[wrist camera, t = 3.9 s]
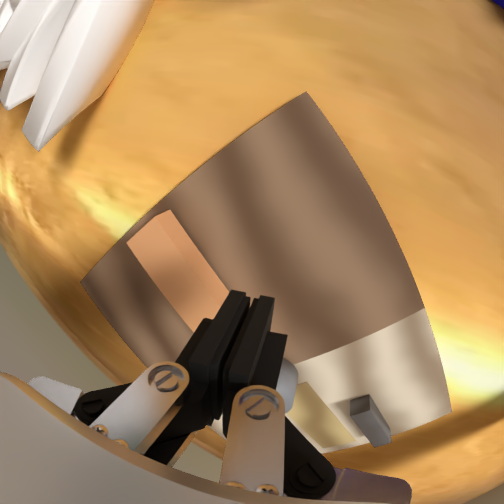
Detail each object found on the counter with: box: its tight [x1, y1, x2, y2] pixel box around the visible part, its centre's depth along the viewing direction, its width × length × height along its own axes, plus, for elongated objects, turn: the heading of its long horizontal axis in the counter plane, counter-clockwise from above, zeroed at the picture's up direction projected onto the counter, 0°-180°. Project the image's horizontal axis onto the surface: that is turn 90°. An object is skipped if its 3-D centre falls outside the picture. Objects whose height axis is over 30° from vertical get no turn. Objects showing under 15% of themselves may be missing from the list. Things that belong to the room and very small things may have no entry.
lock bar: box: [127, 210, 298, 414], centre depth 20 cm, size 18×5×3 cm, turn 36°
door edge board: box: [80, 92, 452, 454], centre depth 22 cm, size 28×34×3 cm
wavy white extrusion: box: [0, 0, 154, 152], centre depth 11 cm, size 35×16×10 cm, turn 49°
